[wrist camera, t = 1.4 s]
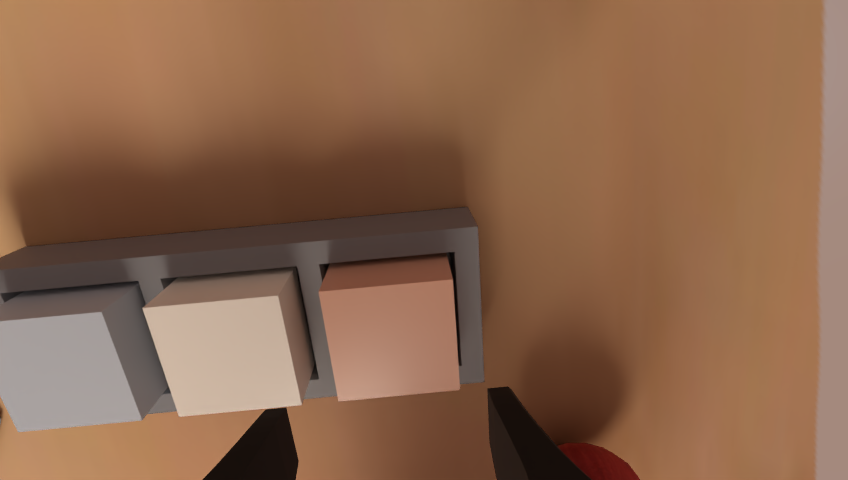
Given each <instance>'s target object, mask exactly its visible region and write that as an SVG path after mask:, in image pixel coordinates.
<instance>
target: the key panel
mask: <svg viewBox="0 0 848 480" xmlns="http://www.w3.org/2000/svg"><path fill="white" fill-rule="evenodd" d="M436 253H447V257H448V261H449V265H450V270H451V274H452V278H453V288H454V304H455V319H456V334H457V350H458V365H459V381H460V384H469V383H479V382H484V361H483V337H482V313H481V289H480V265H479V241H478V226H477V224H476V222H475V220H474V218H473V216H472V214H471V212H470V210H469V208H468V207H460V208H449V209H438V210H427V211H416V212H405V213H394V214H383V215H372V216H361V217H350V218H339V219H327V220H316V221H305V222H294V223H283V224H272V225H261V226H250V227H239V228H228V229H217V230H205V231H194V232H183V233H172V234H161V235H150V236H139V237H128V238H117V239H106V240H95V241H84V242H72V243H61V244H50V245H39V246H28V247H24V248H21V249H19V250H17V251H14V252H12V253H10V254H8V255H5V256H3V257H1V258H0V305H1V304H3V303H5V302H6V301H8V300H10V299H12V298H14V297H15V296H17V295H19V294H21V293H23V292H25V291H31V290H42V289H53V288H64V287H75V286H85V285H96V284H107V283H118V282H129V281H138V282H139V285H140V288H141V291H142V294H143V297H144V300H145V303H146V305H147V304H148V303H149V302H150V301H151V300H152V299H153V298H155V297H156V296H157V295H158V294H159V293H160V292H162V291H163V290H164V289H165V288H166V287H167V286H169V285H170V284H171V283H172V282H173V281H174V280H176V279H177V278H178V277H184V276H195V275H206V274H217V273H228V272H239V271H250V270H261V269H272V268H282V267H293V266H296V270H297V275H298V280H299V286H300V291H301V296H302V301H303V306H304V311H305V316H306V321H307V326H308V331H309V336H310V341H311V347H312V352H313V357H314V362H315V365H314V368H313V371H312V374H311V378H310V381H309V384H308V387H307V390H306V393H305V396H304V399H311V398H321V397H332V396H337V391H336V385H335V380H334V374H333V369H332V363H331V358H330V352H329V347H328V341H327V336H326V330H325V325H324V319H323V314H322V308H321V303H320V297H319V289H320V287H321V285H322V282H323V280H324V277H325V275H326V272H327V270H328V267H329V265H330V263H337V262H348V261H359V260H370V259H381V258H392V257H403V256H414V255H425V254H436ZM174 411H177V409H176V406H175V403H174V400H173V397H172V394H171V392H170V389H169V386H168V388H167V389H166V390H165V391H164V393H163V394H162V395H161V397H160V398H159V399H158V400H157V402H156V403H155V404H154V406H153V407H152V408H151V409H150V411H149V412H148V413H147V414H153V413H163V412H174Z"/></svg>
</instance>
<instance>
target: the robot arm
mask: <svg viewBox="0 0 848 480" xmlns="http://www.w3.org/2000/svg"><path fill="white" fill-rule="evenodd" d="M488 415H489V440H490V448H491V453H492V458H493V463H494V468H495V473H496V478H497V480H592V479H591V478H589V477H588V476H587V475H586V474H585V473H584V472H583V471H582V470H581V469H580V468H578V467H577V466H576V465H575V464H574V463H573V462H572V461H571V460H570V459H569V458H568V457H567V456H566V455H565V454H564V453H563V452H562V451H561V450H560V449H559V447H558V446H557V445H556V444H555V443H554V442H553V441H552V440H551V439H550V438H549V436H548V435H547V434H546V433H545V432H544V431H543V430H542V428H541V427H540V426H539V425H538V424H537V423H536V421H535V420H534V419H533V418H532V417H531V415H530V414H529V413H528V411H527V410H526V409H525V408H524V406H523V405H522V404H521V402H520V401H519V400H518V398H517V397H516V395H515V394H514V392H513V391H512V390H511V389H510V388H509V387H499V388H488ZM0 423H1V418H0ZM297 468H298V457H297V452H296V448H295V444H294V439H293V435H292V431H291V426H290V422H289V418H288V414H287V409H286V408H278V409H267V410H265V411H264V412H263V413H262V414H261V415H260V416H259V418H258V419H257V420H256V421H255V422H254V423H253V424H252V426H251V427H250V428H249V429H248V430H247V431H246V432H245V434H244V435H243V436H242V437H241V438H240V439H239V441H238V442H237V443H236V444H235V445H234V446H233V447H232V448H231V450H230V451H229V452H228V453H227V454H226V455H225V456H224V457H223V458H222V460H221V461H220V462H219V463H218V464H217V465H216V466H215V467H214V468H213V469H212V470H211V471H210V473H209V474H208V475H207V476H206V477H205V478H204V479H203V480H296V474H297Z"/></svg>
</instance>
